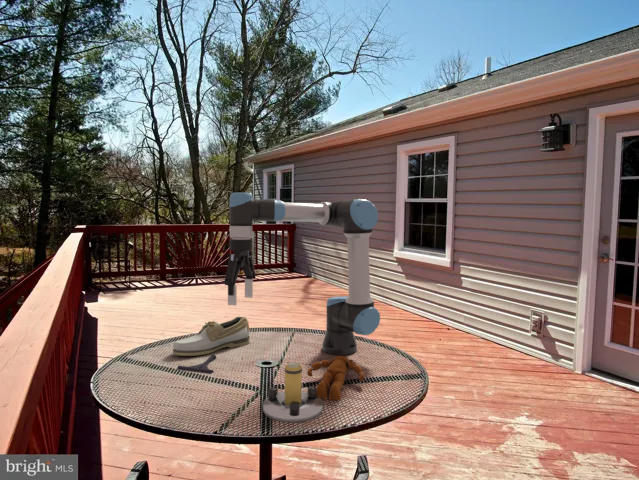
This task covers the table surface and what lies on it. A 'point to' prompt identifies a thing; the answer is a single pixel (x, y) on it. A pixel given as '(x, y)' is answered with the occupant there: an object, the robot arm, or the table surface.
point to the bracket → (200, 366)
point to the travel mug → (293, 383)
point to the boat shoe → (215, 338)
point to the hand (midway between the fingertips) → (240, 301)
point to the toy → (334, 376)
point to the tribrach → (293, 406)
